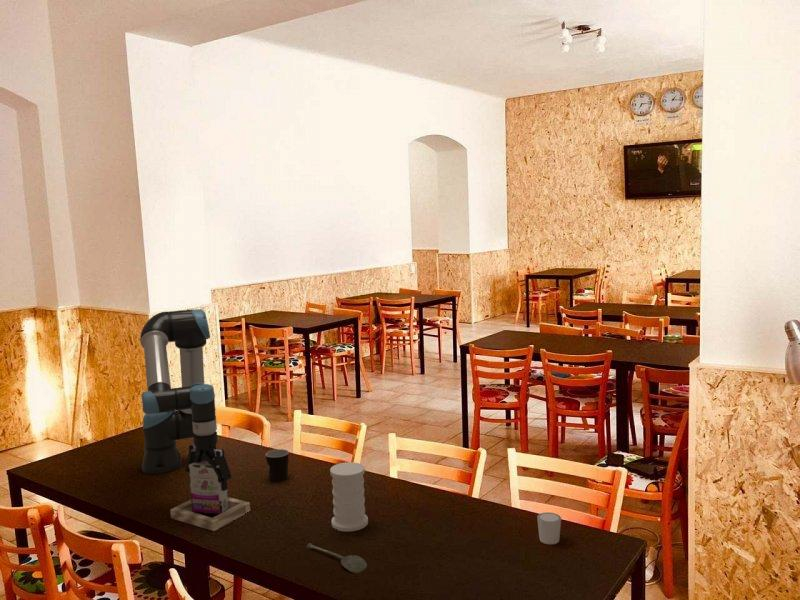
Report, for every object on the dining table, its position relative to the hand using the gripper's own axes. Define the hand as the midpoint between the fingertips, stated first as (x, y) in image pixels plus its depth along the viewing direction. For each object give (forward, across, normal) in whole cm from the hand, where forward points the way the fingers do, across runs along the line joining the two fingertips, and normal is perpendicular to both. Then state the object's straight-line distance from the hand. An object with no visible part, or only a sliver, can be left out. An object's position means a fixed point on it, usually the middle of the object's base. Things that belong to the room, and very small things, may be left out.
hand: (209, 495), depth 218 cm
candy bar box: (+5, 0, 0) cm, 5 cm away
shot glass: (+7, +104, +34) cm, 110 cm away
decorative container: (+7, +45, +16) cm, 48 cm away
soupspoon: (+7, +54, -4) cm, 55 cm away
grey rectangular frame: (+6, 0, 0) cm, 6 cm away
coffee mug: (+7, -1, +35) cm, 36 cm away
